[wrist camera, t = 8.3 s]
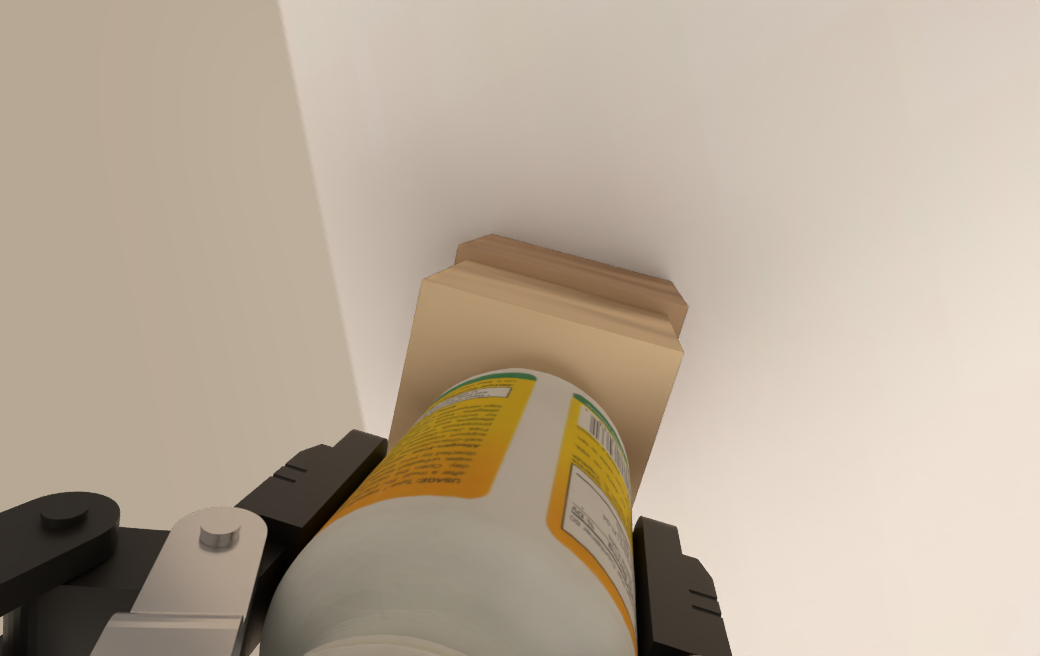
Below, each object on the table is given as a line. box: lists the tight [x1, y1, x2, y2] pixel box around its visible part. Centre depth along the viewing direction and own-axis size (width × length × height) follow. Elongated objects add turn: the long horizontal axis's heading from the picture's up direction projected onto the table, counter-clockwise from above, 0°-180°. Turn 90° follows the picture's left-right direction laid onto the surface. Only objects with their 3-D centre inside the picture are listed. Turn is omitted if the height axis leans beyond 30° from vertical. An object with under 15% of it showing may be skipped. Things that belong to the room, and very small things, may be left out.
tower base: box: [454, 234, 688, 338], centre depth 24 cm, size 8×8×6 cm
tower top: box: [386, 260, 684, 507], centre depth 19 cm, size 7×7×5 cm
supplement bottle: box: [259, 368, 638, 656], centre depth 10 cm, size 5×5×10 cm
